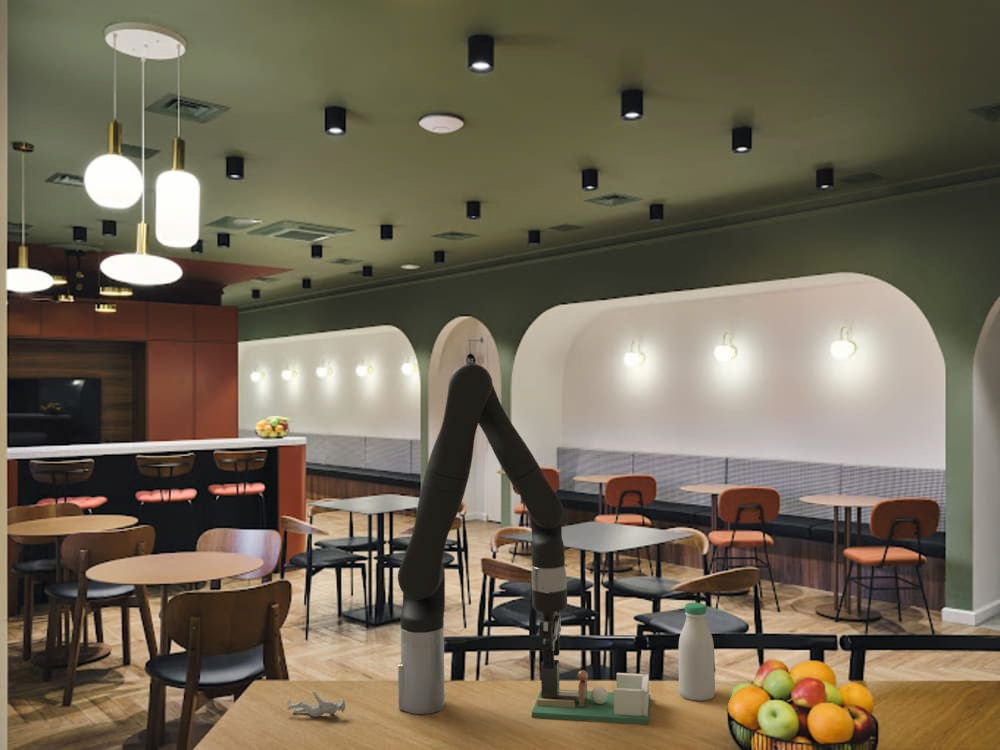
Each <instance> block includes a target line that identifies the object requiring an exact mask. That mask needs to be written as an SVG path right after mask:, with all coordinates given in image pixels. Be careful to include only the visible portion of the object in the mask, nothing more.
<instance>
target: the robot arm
mask: <svg viewBox="0 0 1000 750" xmlns="http://www.w3.org/2000/svg"><path fill="white" fill-rule="evenodd" d="M447 388H448V391H447V396H446V403H445V409H444V415H443V418H442V423H441V426H440V429H439V432H438V435H437V436H436V440H435V442H434V445H433V448H432V450H431V453H430V456H429V459H428V462H427V465H426V469H425V472H424V475H423V481H422V485H421V488H420V489H421V490H420V493H419V499H418V503H417V508H416V509H417V510H416V514H415V521H414V525H413V530H412V533H411V537H410V540H409V543H408V546H407V548H406V552H405V553H404V557H403V560H402V562H401V564H400V566H399V568H398V572H397V582H398V585H399V589H400V590H401V592H402V605H401V606H402V608H401V612H400V613H401V614H400V655H401V656H400V657H401V658H400V659H401V662H400V663H399V664H398V665H397V670H398V672H397V673H398V677H397V678H398V682H397V683H398V684H397V685H398V710H399V711H404V712H406V713H409V714H413V715H415V714H416V715H426V714H433V713H436V712H439V711H441V710H443V708H445V699H446V697H445V696H446V695H445V639H444V638H445V636H444V635H445V633H444V631H445V630H444V629H445V628H444V626H445V625H444V617H445V611H446V609H445V606H446V605H445V604H446V601H445V599H446V596H445V595H446V575H445V574H446V573H445V572H446V571H445V565H444V562H443V557H444V552H445V546H446V542H447V540H448V535H449V534H450V531H451V529H452V526H453V524H454V523H455V520H456V517H457V515H458V513H459V510H460V507H461V505H462V503H463V499H464V496H465V491H466V488H467V485H468V482H469V481H468V480H469V477H470V473H471V468H472V460H473V455H474V445H475V438H476V433H477V429H478V426H479V427H480V428H481V430H482V431H483V433H484V435H485V437H486V438H487V441H488V443H489V445H490V447H491V449H492V451H493V453H494V455H495V457H496V459H497V461H498V463H499V466H501V468H502V470H503V471H504V473H505V475H506V476H507V478H508V480H509V481H510V483H511V485H512V486H513V487H514V488H515V490H516V491H517V492H518V494H519V496H520V498H521V500H522V502H523V503H524V506H525V508H526V509H527V511H528V513H529V515H530V516H529V517H530V519H529V520H530V529H531V536H532V537H531V538H532V541H531V542H532V543H531V544H532V545H531V564H532V566H531V567H532V568H531V601H532V602H531V603H532V604H531V605H532V608H533V609H534V610H535V611H537V612H541V613H542V615H541V618H540V619H539V624H538V625H539V638H540V639H539V640H540V642H539V644H540V645H539V649H540V651H542V661H543V666H544V668H545V669H553V668H554V660H555V656H556V657H557V656H559V655H560V653H561V652H560V636H561V631H562V625H561V624H562V623H561V620H562V619H561V611H565V610H566V609H567V607H568V589H567V588H568V587H567V586H568V585H567V571H566V570H567V569H566V562H565V561H566V558H565V545H564V540H563V536H562V533H563V532H562V531H563V530H562V529H563V528H562V525H563V524H562V521H563V519H564V515H565V508H564V505H563V503H562V501H561V500H560V499H559V497H558V495H557V494H556V492H555V491H554V489H553V488H552V486H551V485H550V484H549V482H548V481H547V478H546V477H545V476H544V473H543V470H542V469H541V467H540V465H539V463H538V462H537V460H536V458H535V457H534V455H533V453H532V452H531V450H530V449H529V447H528V446H527V444H526V443H525V441H524V439H523V438H522V437H521V435H520V433H519V432H518V430H517V429H516V428H515V426H514V424H512V421H511V419H509V417H508V415H507V413H506V411H505V410H504V409H505V408H503V406H502V404H501V402H500V399H499V398H498V395H497V392H496V390H495V387H494V385H493V379H492V376H491V374H490V372H489V371H488V370H487V368H485V367H483V366H482V365H481V364H477V363H473V362H472V363H465V364H461V365H459V366H458V367H457V368H456V369H454V370H453V372H452V373H451V375H450V378H449V381H448V387H447ZM546 641H548V644H546Z"/></svg>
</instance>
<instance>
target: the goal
mask: <svg viewBox="0 0 1000 750" xmlns="http://www.w3.org/2000/svg"><path fill="white" fill-rule="evenodd" d="M649 677H650V676H649V674H646V673H645V674H644V673H629V672H628V673H627V672H616V687H614V688H613V693H614V714H622V715H638V716H648V702H649V695H650V691H649V690H650V688H649V687H650V685H649V684H650V681H649Z"/></svg>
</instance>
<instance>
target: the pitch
mask: <svg viewBox="0 0 1000 750" xmlns="http://www.w3.org/2000/svg"><path fill="white" fill-rule="evenodd" d="M559 692H560V693H577V694H579V689H578V690H576V689H560V688H559ZM591 692H592V690H587V699H586V703H585V707H580V706H579V702H575V700H561V699H544V698H542V688H541V689H540V691H539V694H538V695H537V696H538V697H537V698H536V701H535V703H534V706H533V708H532V711H531V718H540V719H541V718H542V719H554V720H556V719H557V720H570V721H571V720H573V721H574V720H575V721H585V722H586V721H587V722H588V721H590V722H600V723H601V722H604V723H619V724H633V725H634V724H635V725H650V713H651V712H650V711H651V694H649V702H648V716H638V715H622V714H614V691H613V692H611V691H607V693H608V699H607V701H606V702H605V703H603V704H596V703H595V702H594V701H593V700H592V698H591Z"/></svg>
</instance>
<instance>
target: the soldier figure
mask: <svg viewBox="0 0 1000 750" xmlns="http://www.w3.org/2000/svg"><path fill="white" fill-rule="evenodd" d="M311 693H312V694H313V696H314V699H315V700H316V702H317V703H318V704H315V705H314V706H313V705H311V704H310V703H308V702H307V701H304V700H301V701H300V702H297V703H294V704H293V703H292V704H291V700H287V702H286V703H287V704H286V705H287V707H286V708H287V711H290V710H291V709H292V712H291V713H295V714H301V713H307V714H309V716H310V717H313V718H318V716H319V717H321V716H323V715H324V714H327V715H328V714H329V715H330V714H332V715H333V714H335V713H336V712H337V711H338V712H340V711H341V712H342V714H344V711H345V710H346V703H345V699H344V698H342V699H341V700H340V701H339V700H338V701H337V702H336V703H335V702H334V701H331V700H327V701H326V700H322V699H321V698H320V697H319V695H318V694H317V692H316V691H315V690H313V689H312V690H311Z"/></svg>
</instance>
